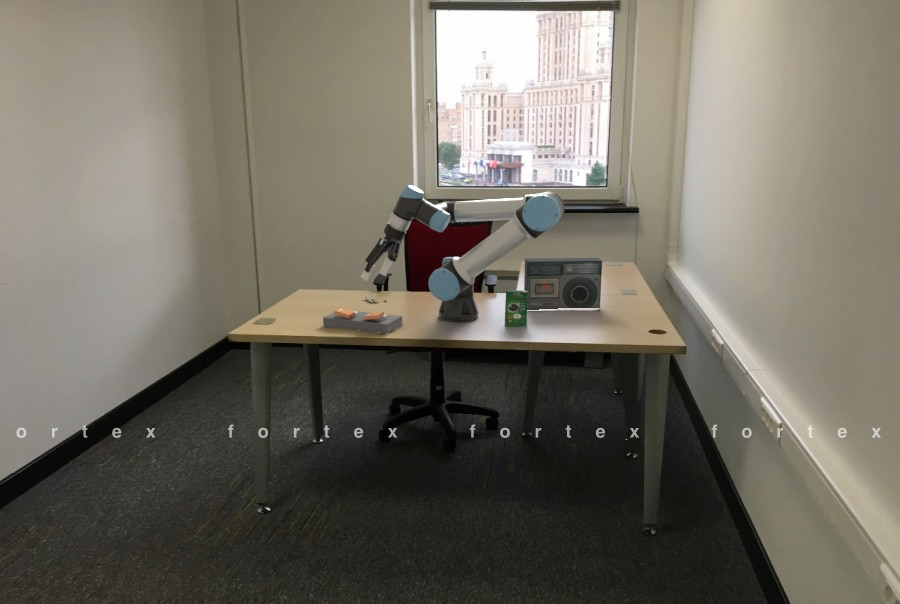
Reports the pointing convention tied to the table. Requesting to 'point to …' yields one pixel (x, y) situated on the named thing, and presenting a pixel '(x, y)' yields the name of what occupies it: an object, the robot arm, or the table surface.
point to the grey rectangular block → (363, 322)
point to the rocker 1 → (344, 312)
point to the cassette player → (563, 282)
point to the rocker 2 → (373, 315)
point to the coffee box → (516, 308)
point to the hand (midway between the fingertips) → (373, 276)
